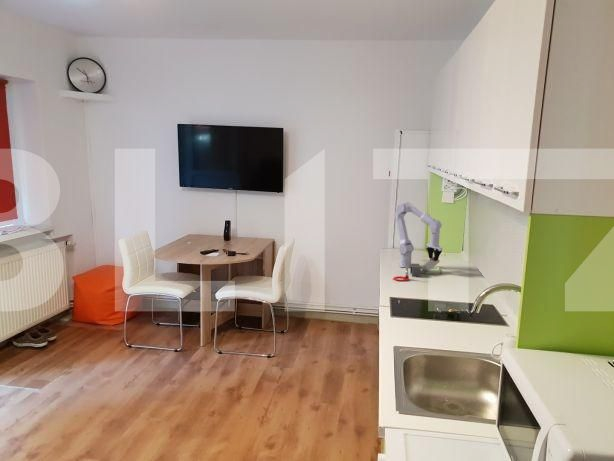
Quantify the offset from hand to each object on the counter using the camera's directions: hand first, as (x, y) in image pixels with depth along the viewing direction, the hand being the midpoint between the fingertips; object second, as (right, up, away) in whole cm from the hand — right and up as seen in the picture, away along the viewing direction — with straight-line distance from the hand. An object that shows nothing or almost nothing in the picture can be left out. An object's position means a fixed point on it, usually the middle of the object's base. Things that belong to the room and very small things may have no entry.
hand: (433, 259), depth 284 cm
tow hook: (-25, -12, -16) cm, 32 cm away
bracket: (-13, -10, -6) cm, 17 cm away
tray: (-4, -8, +2) cm, 9 cm away
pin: (-2, -5, -3) cm, 6 cm away
